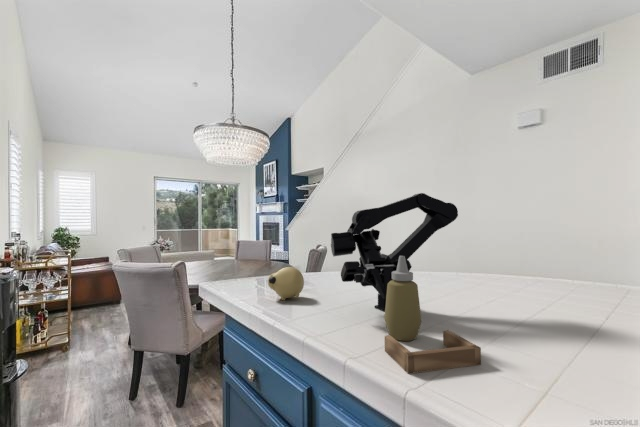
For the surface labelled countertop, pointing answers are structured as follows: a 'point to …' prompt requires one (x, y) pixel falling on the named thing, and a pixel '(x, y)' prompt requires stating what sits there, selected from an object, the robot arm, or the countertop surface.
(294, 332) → the countertop surface
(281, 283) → the beige round figure
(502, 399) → the countertop surface
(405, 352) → the bay
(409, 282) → the squeeze bottle
